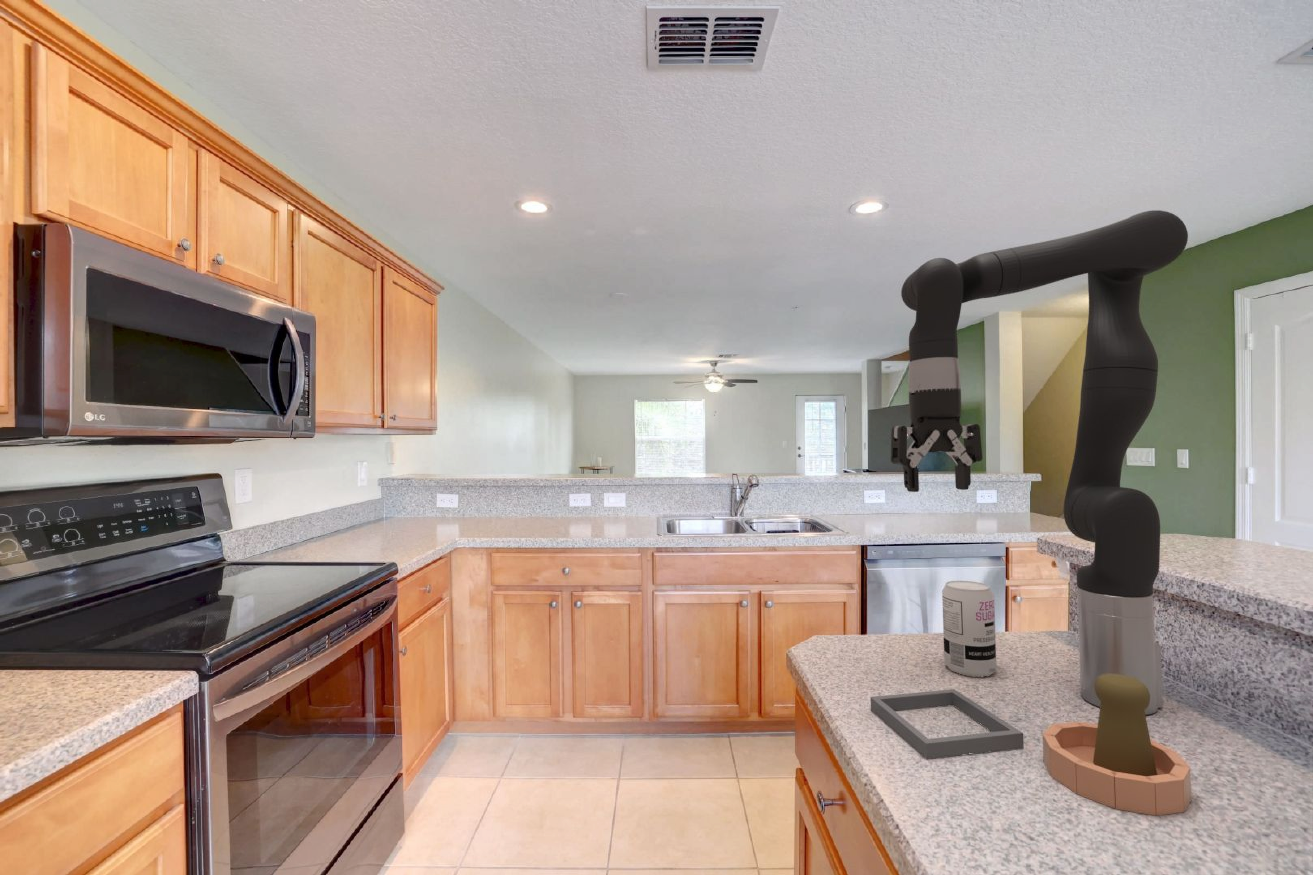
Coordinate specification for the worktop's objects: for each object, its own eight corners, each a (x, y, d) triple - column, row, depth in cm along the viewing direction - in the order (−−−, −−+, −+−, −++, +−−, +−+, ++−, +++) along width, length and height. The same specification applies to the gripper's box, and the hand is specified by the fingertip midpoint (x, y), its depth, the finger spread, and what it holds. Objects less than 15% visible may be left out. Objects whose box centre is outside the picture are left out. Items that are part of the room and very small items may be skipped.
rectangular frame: (954, 701, 90) (953, 688, 90) (1023, 748, 76) (1023, 732, 76) (870, 709, 88) (870, 696, 88) (926, 759, 74) (926, 743, 74)
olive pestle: (1169, 787, 65) (1165, 690, 65) (1106, 780, 67) (1103, 685, 67) (1141, 759, 71) (1137, 669, 71) (1084, 753, 73) (1081, 665, 73)
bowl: (1110, 744, 76) (1109, 717, 76) (1222, 806, 63) (1221, 774, 63) (1019, 754, 74) (1018, 727, 74) (1116, 821, 61) (1115, 787, 61)
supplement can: (948, 657, 108) (945, 577, 108) (999, 666, 103) (996, 583, 103) (940, 672, 101) (937, 587, 102) (994, 682, 97) (991, 593, 97)
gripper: (959, 390, 96) (962, 487, 96) (880, 391, 94) (883, 490, 94) (991, 385, 89) (995, 490, 88) (906, 386, 87) (909, 494, 86)
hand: (937, 490), depth 91 cm, fingers open, 8 cm apart
